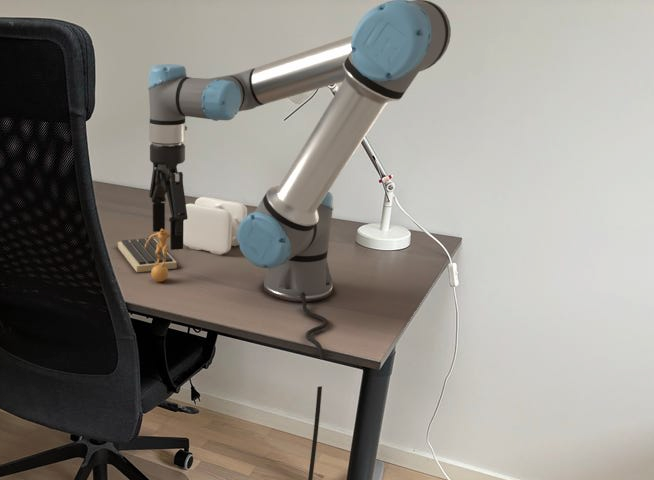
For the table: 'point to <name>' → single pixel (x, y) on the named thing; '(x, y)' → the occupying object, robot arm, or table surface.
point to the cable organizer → (213, 224)
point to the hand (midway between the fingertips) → (167, 239)
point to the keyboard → (144, 254)
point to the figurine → (158, 270)
